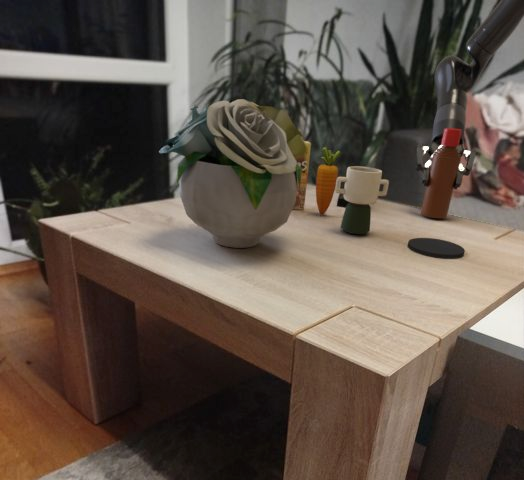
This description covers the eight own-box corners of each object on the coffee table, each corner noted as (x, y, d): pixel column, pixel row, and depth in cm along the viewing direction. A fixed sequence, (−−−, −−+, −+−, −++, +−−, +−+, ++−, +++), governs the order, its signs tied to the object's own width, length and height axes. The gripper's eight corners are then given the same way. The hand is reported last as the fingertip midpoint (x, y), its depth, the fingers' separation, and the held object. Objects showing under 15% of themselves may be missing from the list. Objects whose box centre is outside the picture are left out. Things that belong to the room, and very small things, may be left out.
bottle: (440, 212, 128) (459, 130, 119) (451, 218, 123) (472, 133, 113) (416, 211, 128) (433, 128, 118) (426, 217, 122) (445, 131, 113)
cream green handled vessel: (374, 229, 111) (386, 167, 105) (383, 238, 105) (396, 174, 98) (326, 226, 110) (334, 164, 104) (332, 236, 104) (341, 170, 97)
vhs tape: (367, 198, 140) (368, 191, 139) (366, 209, 128) (367, 201, 127) (340, 195, 141) (341, 188, 140) (336, 206, 129) (337, 198, 128)
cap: (453, 144, 119) (457, 128, 118) (461, 147, 116) (465, 130, 114) (437, 143, 119) (441, 127, 117) (445, 146, 115) (448, 129, 114)
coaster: (449, 242, 106) (450, 238, 106) (474, 259, 96) (475, 255, 96) (399, 240, 104) (400, 236, 104) (419, 257, 95) (420, 253, 95)
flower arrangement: (236, 275, 80) (245, 104, 68) (142, 236, 94) (136, 90, 82) (328, 247, 96) (348, 106, 84) (236, 218, 110) (242, 94, 99)
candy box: (268, 209, 120) (274, 140, 113) (265, 204, 124) (270, 138, 117) (304, 210, 122) (312, 142, 115) (300, 206, 126) (307, 140, 118)
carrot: (335, 215, 120) (345, 148, 112) (326, 219, 116) (336, 150, 109) (317, 211, 122) (325, 145, 115) (307, 215, 118) (315, 147, 111)
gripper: (421, 115, 122) (413, 172, 118) (483, 120, 120) (476, 179, 115) (416, 136, 129) (408, 191, 125) (474, 141, 127) (467, 198, 123)
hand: (441, 185), depth 120 cm, fingers closed on bottle, 6 cm apart
